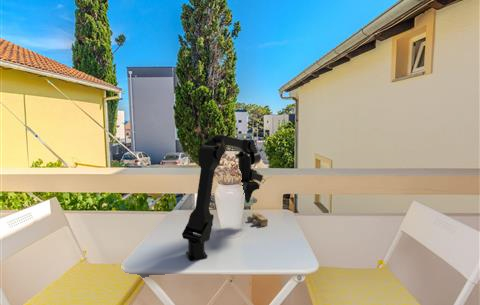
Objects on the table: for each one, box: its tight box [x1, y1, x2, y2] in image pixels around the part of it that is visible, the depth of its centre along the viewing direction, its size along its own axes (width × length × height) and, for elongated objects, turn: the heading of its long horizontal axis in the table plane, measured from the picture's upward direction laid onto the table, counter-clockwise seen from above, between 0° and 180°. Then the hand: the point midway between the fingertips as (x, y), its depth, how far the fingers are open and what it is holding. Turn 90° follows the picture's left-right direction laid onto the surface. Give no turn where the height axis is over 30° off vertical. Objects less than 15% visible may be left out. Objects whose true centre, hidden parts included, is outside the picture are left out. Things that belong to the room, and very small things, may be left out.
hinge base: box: [247, 212, 269, 227], centre depth 134 cm, size 10×6×3 cm, turn 23°
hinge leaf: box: [244, 196, 258, 207], centre depth 130 cm, size 7×8×3 cm
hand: (244, 200), depth 129 cm, fingers closed on hinge leaf, 7 cm apart
